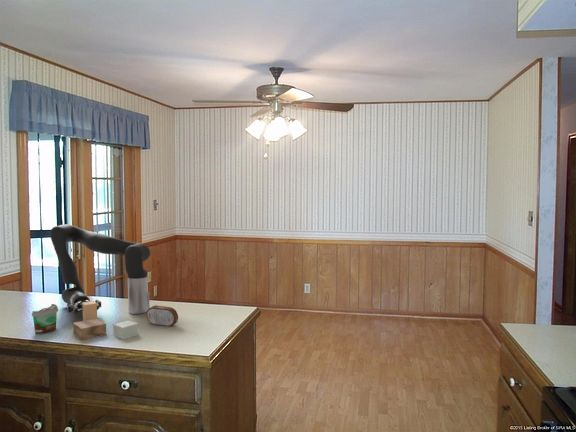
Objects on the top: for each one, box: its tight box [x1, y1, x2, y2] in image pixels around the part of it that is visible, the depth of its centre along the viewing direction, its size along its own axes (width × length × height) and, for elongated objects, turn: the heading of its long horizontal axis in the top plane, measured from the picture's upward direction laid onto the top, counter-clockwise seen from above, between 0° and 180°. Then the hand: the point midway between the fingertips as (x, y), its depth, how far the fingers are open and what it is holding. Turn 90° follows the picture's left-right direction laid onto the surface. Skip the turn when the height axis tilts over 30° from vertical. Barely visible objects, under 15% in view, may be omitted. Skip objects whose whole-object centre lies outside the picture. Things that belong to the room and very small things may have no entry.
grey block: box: [113, 319, 139, 340], centre depth 189 cm, size 7×7×5 cm
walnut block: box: [72, 317, 107, 341], centre depth 190 cm, size 10×10×5 cm
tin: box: [146, 304, 179, 327], centre depth 202 cm, size 15×3×8 cm, turn 71°
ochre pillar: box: [82, 300, 98, 321], centre depth 202 cm, size 5×5×10 cm
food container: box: [31, 303, 59, 335], centre depth 194 cm, size 12×6×10 cm, turn 168°
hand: (87, 309), depth 206 cm, fingers open, 8 cm apart
